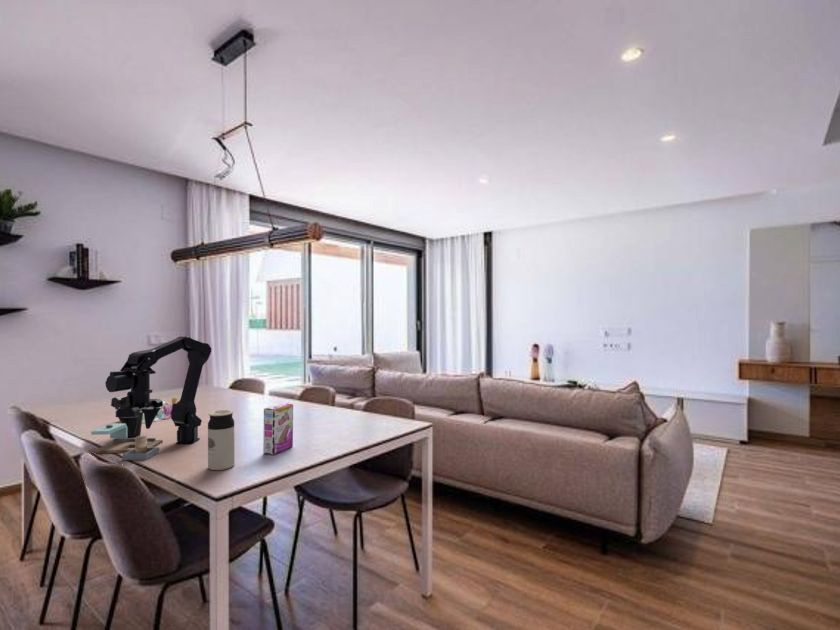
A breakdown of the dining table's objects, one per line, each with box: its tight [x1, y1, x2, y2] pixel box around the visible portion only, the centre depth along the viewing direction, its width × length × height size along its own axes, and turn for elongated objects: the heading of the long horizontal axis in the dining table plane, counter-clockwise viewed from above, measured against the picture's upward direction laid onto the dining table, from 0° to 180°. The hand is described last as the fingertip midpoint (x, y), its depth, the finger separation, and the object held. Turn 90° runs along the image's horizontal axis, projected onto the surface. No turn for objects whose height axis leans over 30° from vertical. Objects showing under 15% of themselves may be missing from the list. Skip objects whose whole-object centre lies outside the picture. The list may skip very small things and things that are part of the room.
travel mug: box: [207, 409, 236, 471], centre depth 147 cm, size 8×8×18 cm
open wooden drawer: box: [93, 437, 164, 454], centre depth 169 cm, size 18×12×2 cm
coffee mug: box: [118, 410, 143, 438], centre depth 183 cm, size 12×9×10 cm
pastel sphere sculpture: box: [142, 397, 180, 424], centre depth 219 cm, size 25×24×9 cm
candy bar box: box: [262, 402, 294, 456], centre depth 164 cm, size 11×5×16 cm, turn 159°
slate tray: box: [122, 446, 160, 461], centre depth 158 cm, size 8×8×2 cm
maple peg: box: [134, 435, 148, 454], centre depth 158 cm, size 4×4×6 cm
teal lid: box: [90, 423, 128, 439], centre depth 168 cm, size 6×11×6 cm, turn 2°
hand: (140, 431), depth 158 cm, fingers open, 9 cm apart
